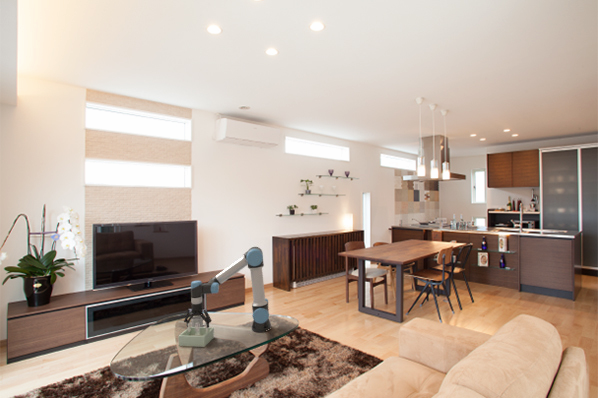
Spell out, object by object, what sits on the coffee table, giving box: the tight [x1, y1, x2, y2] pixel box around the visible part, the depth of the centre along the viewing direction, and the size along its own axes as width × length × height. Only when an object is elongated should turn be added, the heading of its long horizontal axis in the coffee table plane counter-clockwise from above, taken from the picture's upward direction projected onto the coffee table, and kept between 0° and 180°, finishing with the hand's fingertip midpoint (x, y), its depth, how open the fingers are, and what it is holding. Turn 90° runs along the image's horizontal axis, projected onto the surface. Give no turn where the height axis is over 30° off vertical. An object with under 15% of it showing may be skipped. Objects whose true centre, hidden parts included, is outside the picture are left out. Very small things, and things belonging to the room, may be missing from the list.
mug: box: [190, 315, 206, 328], centre depth 257 cm, size 12×8×11 cm
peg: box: [195, 323, 200, 336], centre depth 240 cm, size 3×3×12 cm
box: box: [177, 326, 215, 348], centre depth 238 cm, size 19×16×7 cm
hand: (198, 331), depth 241 cm, fingers open, 13 cm apart
